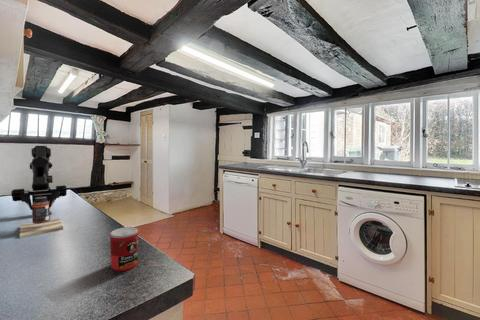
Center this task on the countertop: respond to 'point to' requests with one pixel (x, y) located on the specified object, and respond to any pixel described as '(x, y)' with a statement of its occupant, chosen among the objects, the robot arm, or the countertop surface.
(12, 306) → the countertop surface
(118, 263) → the canned food
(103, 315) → the countertop surface
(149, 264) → the countertop surface
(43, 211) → the supplement bottle
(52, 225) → the birch board
